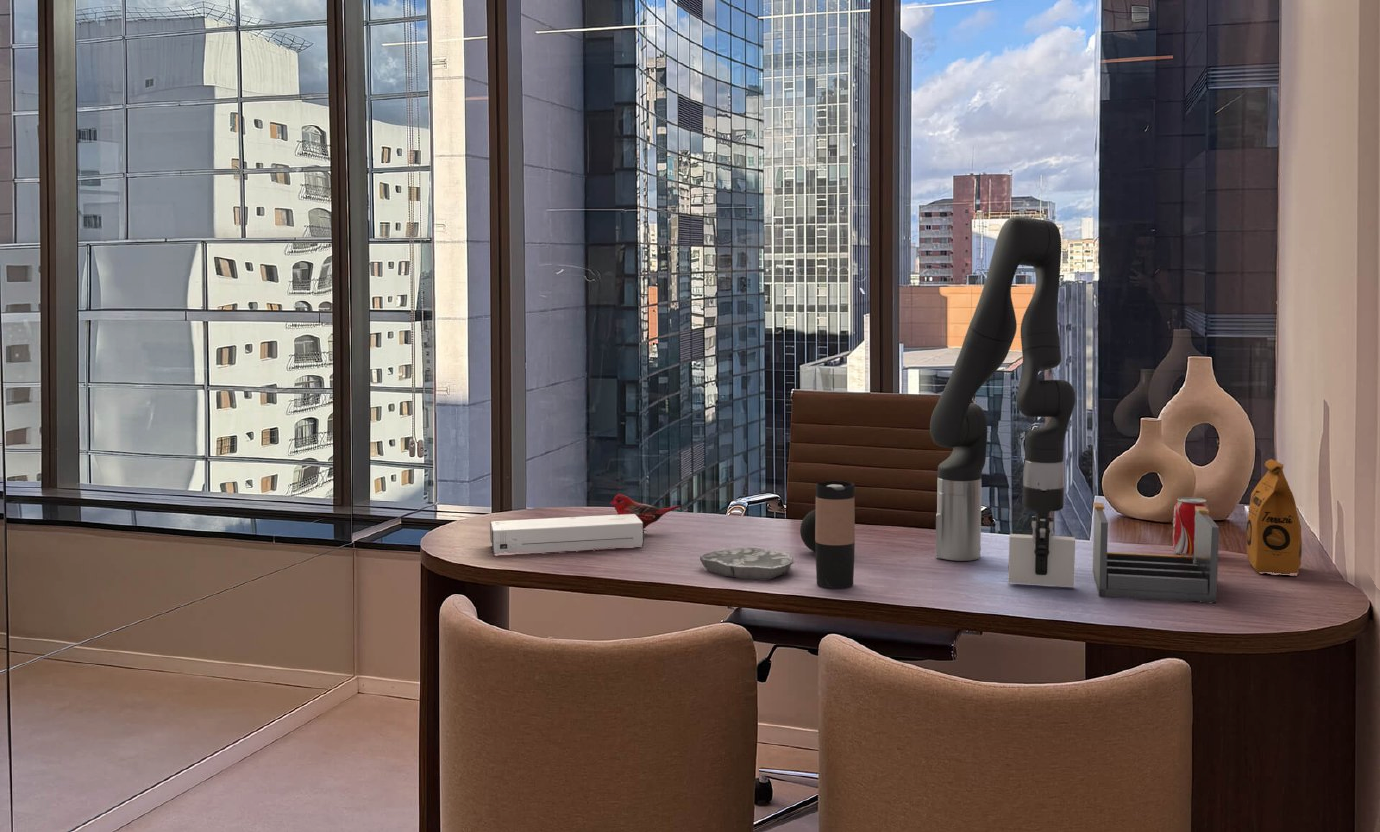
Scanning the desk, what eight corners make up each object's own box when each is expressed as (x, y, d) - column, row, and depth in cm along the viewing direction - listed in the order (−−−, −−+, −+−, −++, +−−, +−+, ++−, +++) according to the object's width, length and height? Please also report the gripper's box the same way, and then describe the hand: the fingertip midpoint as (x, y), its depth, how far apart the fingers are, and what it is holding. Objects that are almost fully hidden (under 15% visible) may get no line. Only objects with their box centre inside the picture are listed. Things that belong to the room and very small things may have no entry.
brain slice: (810, 567, 235) (810, 553, 235) (774, 585, 221) (774, 571, 220) (728, 557, 245) (728, 544, 245) (688, 574, 230) (688, 560, 230)
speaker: (793, 555, 245) (793, 510, 244) (810, 546, 254) (810, 502, 253) (836, 559, 241) (836, 514, 240) (852, 550, 250) (852, 506, 248)
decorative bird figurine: (608, 534, 269) (608, 493, 268) (679, 529, 275) (678, 489, 274) (611, 537, 267) (610, 495, 266) (682, 531, 272) (682, 491, 271)
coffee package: (1246, 574, 224) (1251, 465, 221) (1243, 561, 235) (1247, 457, 233) (1303, 579, 220) (1308, 468, 217) (1297, 565, 231) (1302, 459, 229)
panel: (1008, 582, 217) (1009, 536, 216) (1008, 578, 220) (1009, 533, 219) (1073, 586, 213) (1075, 540, 212) (1073, 583, 216) (1074, 537, 215)
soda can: (1187, 559, 238) (1189, 503, 236) (1165, 552, 244) (1166, 497, 243) (1215, 556, 239) (1217, 501, 238) (1192, 549, 246) (1194, 495, 245)
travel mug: (828, 577, 225) (828, 479, 223) (861, 583, 220) (862, 483, 218) (807, 585, 219) (807, 484, 217) (841, 591, 214) (841, 488, 212)
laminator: (635, 539, 266) (635, 513, 265) (644, 550, 254) (644, 523, 254) (490, 547, 259) (489, 521, 258) (493, 559, 247) (492, 531, 246)
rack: (1097, 596, 209) (1099, 519, 207) (1091, 571, 228) (1092, 501, 226) (1218, 603, 203) (1221, 524, 201) (1201, 577, 222) (1203, 505, 221)
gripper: (1023, 477, 222) (1021, 562, 224) (1022, 489, 209) (1020, 579, 211) (1063, 479, 220) (1060, 565, 222) (1065, 491, 206) (1062, 582, 208)
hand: (1041, 571), depth 216 cm, fingers closed on panel, 3 cm apart
